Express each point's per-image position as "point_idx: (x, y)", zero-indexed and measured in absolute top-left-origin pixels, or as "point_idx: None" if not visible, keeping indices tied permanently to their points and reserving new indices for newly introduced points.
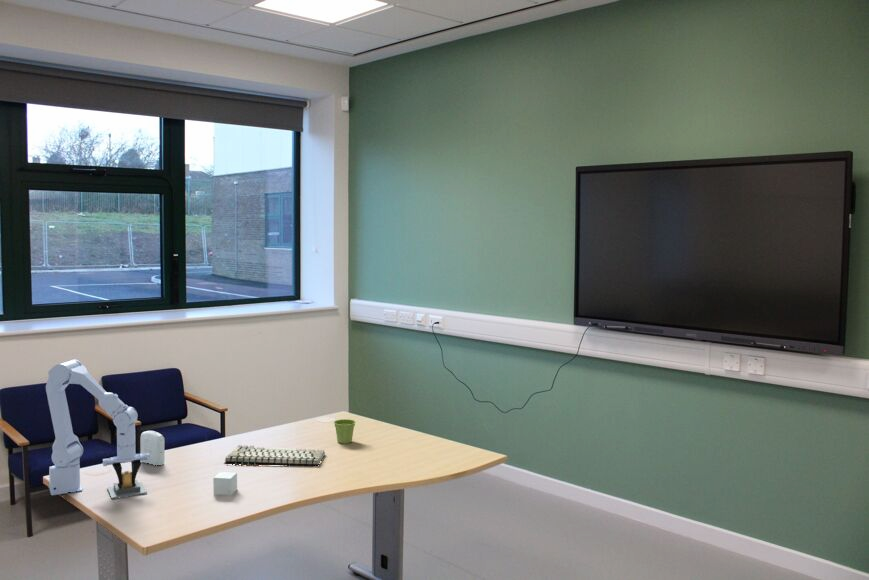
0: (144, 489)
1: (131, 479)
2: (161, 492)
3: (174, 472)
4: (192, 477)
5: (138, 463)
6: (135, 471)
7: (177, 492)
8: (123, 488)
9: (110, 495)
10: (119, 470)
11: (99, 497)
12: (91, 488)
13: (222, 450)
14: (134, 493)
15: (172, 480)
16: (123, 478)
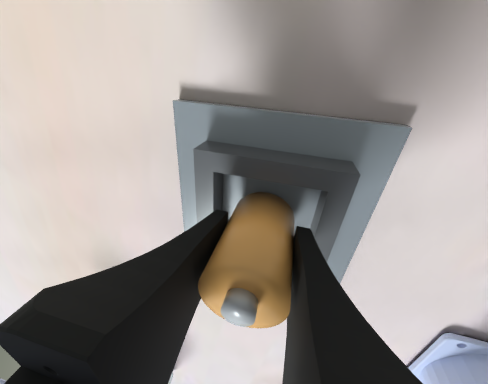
0: (182, 155)
1: (226, 231)
2: (103, 73)
3: (84, 269)
4: (13, 193)
5: (16, 339)
6: (161, 261)
7: (15, 11)
8: (301, 183)
9: (382, 186)
10: (348, 352)
11: (440, 211)
12: (386, 327)
13: (6, 311)
14: (245, 121)
15: (78, 209)
16: (283, 256)
